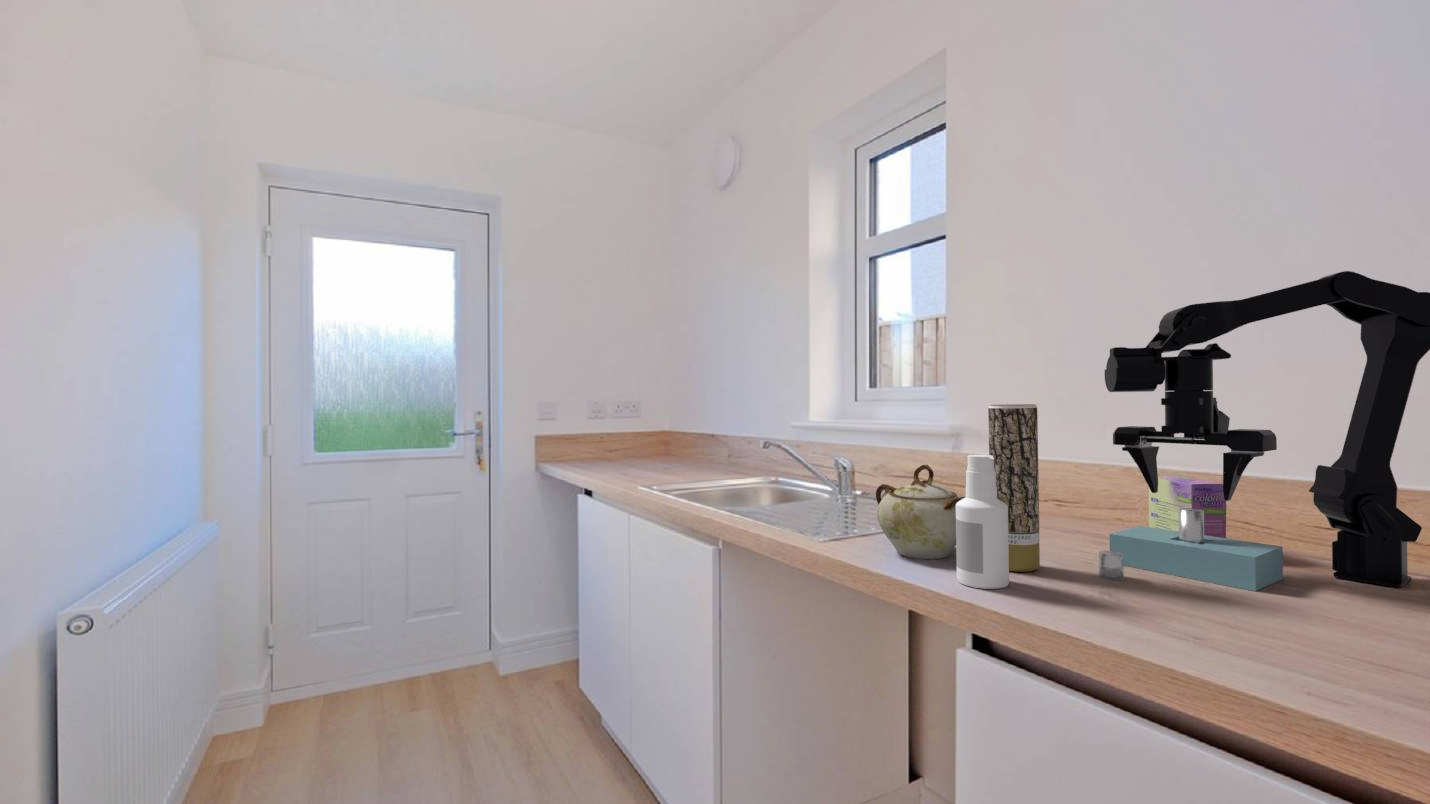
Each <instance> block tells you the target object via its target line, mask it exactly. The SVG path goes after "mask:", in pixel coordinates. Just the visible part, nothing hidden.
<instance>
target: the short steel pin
mask: <svg viewBox="0 0 1430 804" xmlns="http://www.w3.org/2000/svg"><path fill="white" fill-rule="evenodd" d="M1124 566H1125V565H1124V557H1123V553H1120V552H1115V551H1110V550H1099V551H1098V575H1099V577H1100V578H1101V579H1104V580H1108V581H1123V580H1124V579H1125V574H1124V573H1125V570H1124V569H1125V567H1124Z"/></svg>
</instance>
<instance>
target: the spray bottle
mask: <svg viewBox="0 0 1430 804" xmlns="http://www.w3.org/2000/svg"><path fill="white" fill-rule="evenodd" d="M965 481H966V482H965V496H964V497H965V498H963V499H962V500H960V501H958V502H957V503H956V546H955V547H956V549H955V551H956V552H955V553H956V556H955V557H956V578H957V581H958V582H959V583H960V584H962V585H965V586H967V587H970V588H974V589H975V588H976V589H983V590H999V589H1004V588H1007V587H1008V586H1009V583H1010V571H1009V540H1008V506H1007V505H1006V504H1005V503H1003V502H1002V501H1000V500H999V499H997V487H996V471H995V468H994V458H993V456H992V455H989V454H969V455H967V467H966V471H965Z"/></svg>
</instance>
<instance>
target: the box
mask: <svg viewBox="0 0 1430 804" xmlns="http://www.w3.org/2000/svg"><path fill="white" fill-rule="evenodd" d="M1179 508H1194V509H1201V510H1204V535H1206V536H1213V537H1220V538H1227V501H1225V499H1224V494H1223V482H1222V483H1221V482H1217V481H1216V482H1214V481H1210V480H1203V479H1200V478H1199V479H1197V478H1192V477H1188V476H1182V475H1158V492H1157V493H1152V492H1151V490H1150V488H1149V487H1148V527H1151V528H1158V529H1165V530H1172V531H1179Z"/></svg>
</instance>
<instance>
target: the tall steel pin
mask: <svg viewBox="0 0 1430 804" xmlns="http://www.w3.org/2000/svg"><path fill="white" fill-rule="evenodd" d="M1179 541H1183V542H1190V543H1196V544H1204V510H1201V509H1194V508H1179Z"/></svg>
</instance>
